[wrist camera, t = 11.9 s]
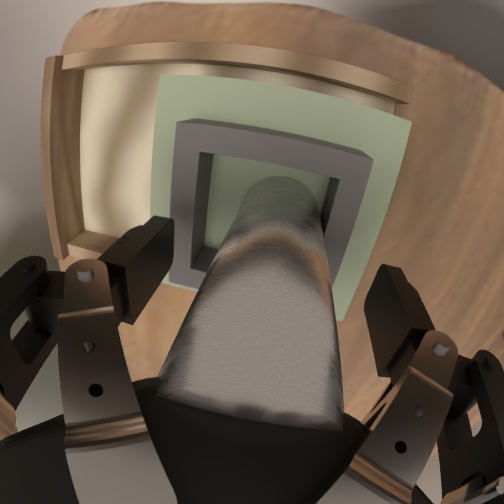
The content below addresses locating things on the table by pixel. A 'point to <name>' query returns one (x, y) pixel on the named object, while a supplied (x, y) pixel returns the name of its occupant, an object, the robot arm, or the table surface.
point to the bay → (151, 124)
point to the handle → (263, 319)
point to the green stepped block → (270, 167)
